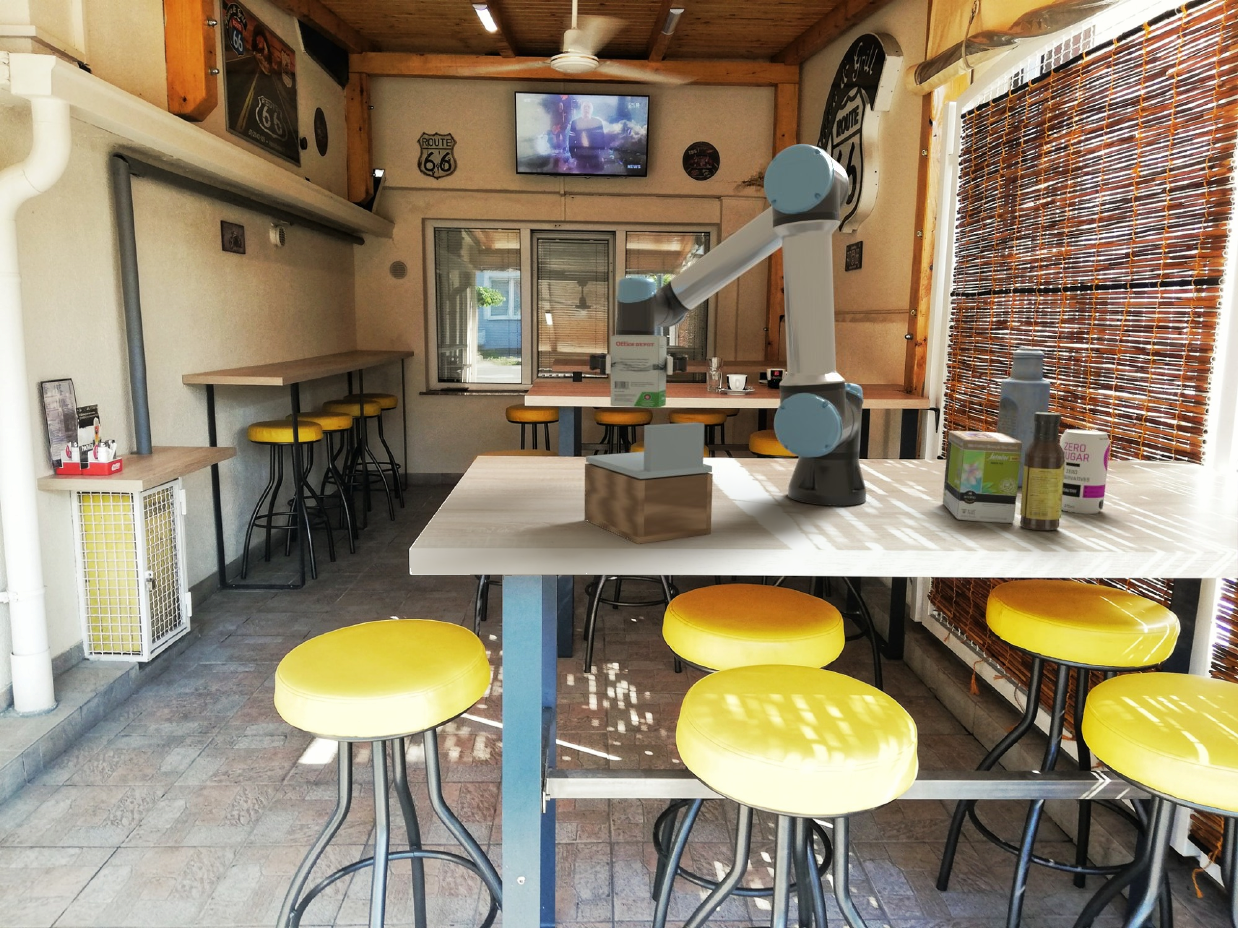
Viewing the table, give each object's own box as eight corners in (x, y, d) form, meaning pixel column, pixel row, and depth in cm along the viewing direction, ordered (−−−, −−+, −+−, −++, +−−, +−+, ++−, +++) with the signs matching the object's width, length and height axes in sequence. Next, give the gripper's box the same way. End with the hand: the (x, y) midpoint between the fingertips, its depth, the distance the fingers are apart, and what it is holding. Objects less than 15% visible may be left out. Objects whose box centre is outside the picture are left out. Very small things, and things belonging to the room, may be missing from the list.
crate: (584, 520, 145) (584, 463, 143) (652, 512, 152) (653, 458, 150) (638, 543, 130) (639, 480, 128) (710, 533, 136) (712, 473, 135)
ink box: (666, 406, 141) (668, 335, 139) (658, 408, 136) (660, 335, 134) (618, 403, 144) (619, 334, 142) (608, 406, 139) (609, 334, 137)
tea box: (1016, 524, 146) (1024, 441, 144) (955, 521, 148) (962, 438, 146) (995, 506, 161) (1002, 430, 158) (941, 503, 162) (946, 428, 160)
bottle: (982, 480, 188) (993, 346, 183) (1019, 478, 191) (1032, 347, 186) (1011, 488, 179) (1024, 348, 174) (1050, 486, 181) (1064, 348, 177)
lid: (585, 461, 143) (586, 415, 142) (652, 456, 150) (653, 412, 149) (640, 478, 128) (641, 427, 127) (711, 472, 135) (713, 423, 133)
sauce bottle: (1067, 531, 141) (1079, 414, 138) (1035, 533, 140) (1047, 415, 136) (1040, 522, 147) (1051, 410, 144) (1010, 524, 146) (1020, 411, 143)
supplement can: (1099, 507, 160) (1108, 430, 158) (1104, 516, 153) (1113, 435, 150) (1052, 503, 164) (1060, 428, 161) (1054, 511, 156) (1062, 432, 154)
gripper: (693, 380, 157) (706, 390, 135) (577, 378, 157) (571, 387, 135) (695, 340, 156) (708, 343, 134) (578, 338, 156) (571, 341, 134)
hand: (639, 365), depth 134 cm, fingers closed on ink box, 9 cm apart
